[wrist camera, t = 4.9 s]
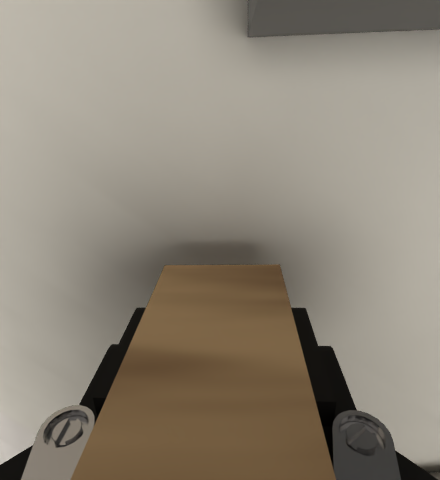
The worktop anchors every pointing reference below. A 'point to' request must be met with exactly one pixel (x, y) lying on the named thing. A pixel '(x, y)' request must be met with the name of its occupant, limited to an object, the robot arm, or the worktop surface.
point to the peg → (211, 386)
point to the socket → (340, 16)
